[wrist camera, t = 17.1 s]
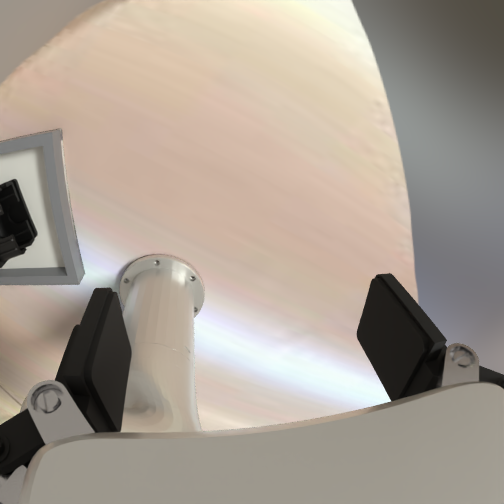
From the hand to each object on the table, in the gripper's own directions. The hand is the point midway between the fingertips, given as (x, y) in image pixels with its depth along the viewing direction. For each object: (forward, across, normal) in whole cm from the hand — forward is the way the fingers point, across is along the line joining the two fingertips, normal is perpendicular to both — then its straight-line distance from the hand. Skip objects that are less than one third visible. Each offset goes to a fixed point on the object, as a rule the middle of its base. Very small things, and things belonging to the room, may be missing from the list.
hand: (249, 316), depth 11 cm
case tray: (+30, +30, +6) cm, 43 cm away
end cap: (+30, +30, +6) cm, 43 cm away
